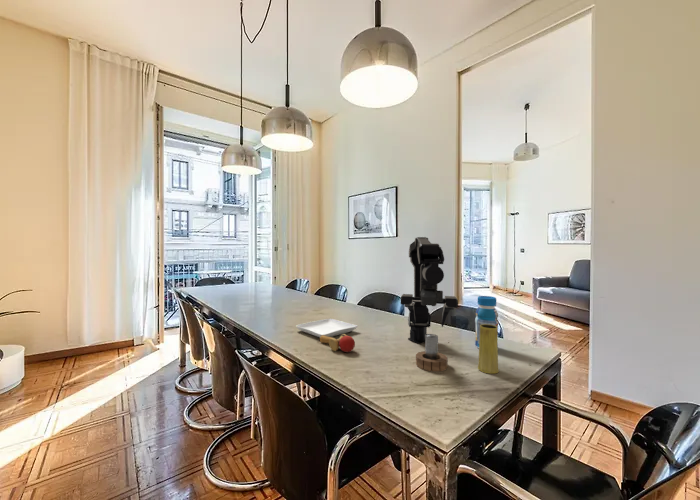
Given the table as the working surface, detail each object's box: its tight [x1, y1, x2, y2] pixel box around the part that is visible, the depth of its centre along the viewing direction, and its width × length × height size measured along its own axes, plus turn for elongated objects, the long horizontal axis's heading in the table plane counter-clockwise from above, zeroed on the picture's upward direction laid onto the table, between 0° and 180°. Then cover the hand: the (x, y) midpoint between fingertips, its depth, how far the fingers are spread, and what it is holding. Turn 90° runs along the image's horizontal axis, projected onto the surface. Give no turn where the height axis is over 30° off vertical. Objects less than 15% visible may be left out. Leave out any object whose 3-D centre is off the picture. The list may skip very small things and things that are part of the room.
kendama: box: [319, 333, 356, 353], centre depth 119 cm, size 8×6×18 cm
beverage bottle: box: [474, 295, 499, 349], centre depth 119 cm, size 8×8×20 cm
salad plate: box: [295, 317, 359, 338], centre depth 140 cm, size 21×21×3 cm
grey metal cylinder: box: [424, 333, 439, 360], centre depth 101 cm, size 4×4×10 cm
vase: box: [477, 324, 500, 375], centre depth 98 cm, size 6×6×14 cm
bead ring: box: [415, 350, 449, 372], centre depth 102 cm, size 10×10×3 cm
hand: (428, 325), depth 104 cm, fingers open, 9 cm apart
